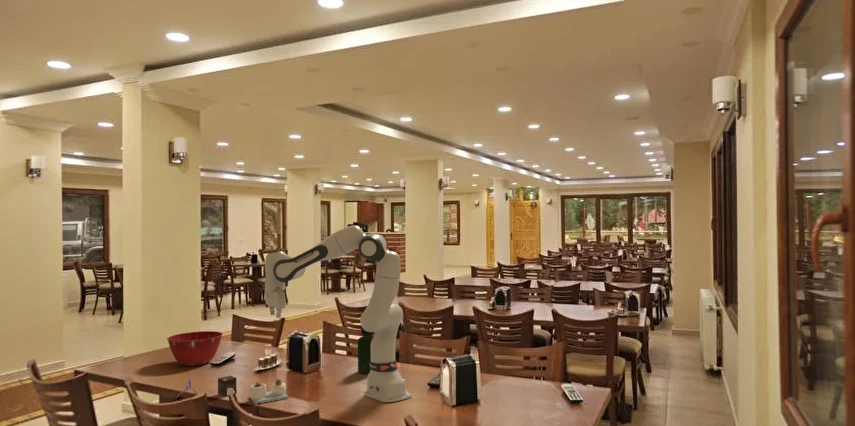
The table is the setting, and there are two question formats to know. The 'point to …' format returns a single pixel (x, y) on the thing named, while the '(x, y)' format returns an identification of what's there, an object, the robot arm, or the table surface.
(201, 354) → the mixing bowl
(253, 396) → the ring
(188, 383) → the lily
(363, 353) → the spray bottle
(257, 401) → the stand
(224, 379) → the box
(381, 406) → the table surface
